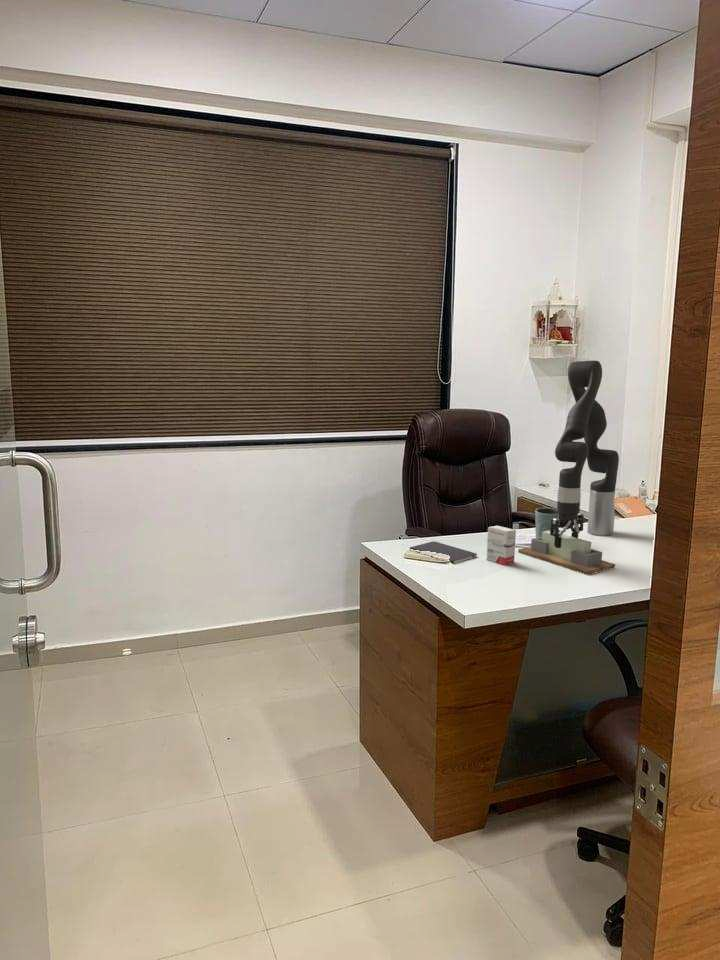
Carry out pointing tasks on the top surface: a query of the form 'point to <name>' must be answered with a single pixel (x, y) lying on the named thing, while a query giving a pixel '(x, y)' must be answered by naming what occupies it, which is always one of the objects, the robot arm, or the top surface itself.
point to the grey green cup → (544, 519)
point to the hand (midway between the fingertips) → (566, 545)
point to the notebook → (446, 551)
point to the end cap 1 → (539, 545)
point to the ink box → (501, 545)
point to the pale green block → (566, 545)
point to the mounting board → (566, 561)
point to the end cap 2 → (586, 558)
